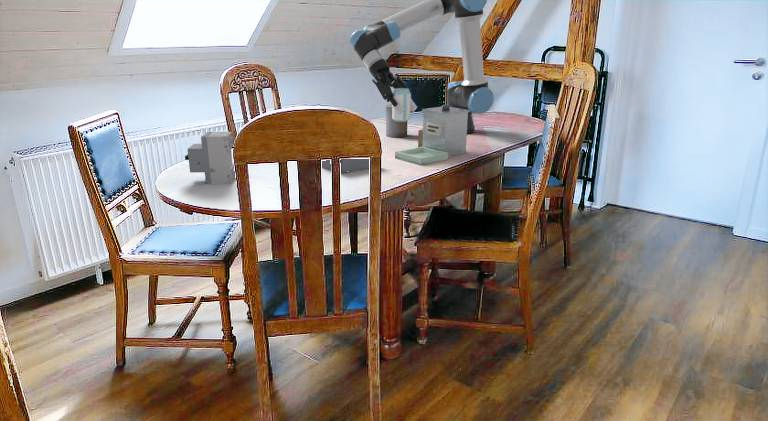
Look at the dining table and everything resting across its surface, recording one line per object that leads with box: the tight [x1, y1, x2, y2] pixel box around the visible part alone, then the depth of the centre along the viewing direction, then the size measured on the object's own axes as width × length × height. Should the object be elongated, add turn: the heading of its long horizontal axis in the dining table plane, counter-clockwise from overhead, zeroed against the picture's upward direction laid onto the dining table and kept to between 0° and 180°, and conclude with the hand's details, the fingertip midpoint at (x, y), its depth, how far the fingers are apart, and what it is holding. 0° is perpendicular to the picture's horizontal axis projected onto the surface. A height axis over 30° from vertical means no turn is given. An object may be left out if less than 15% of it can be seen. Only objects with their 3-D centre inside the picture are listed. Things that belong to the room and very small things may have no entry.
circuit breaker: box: [184, 131, 236, 185], centre depth 171 cm, size 8×14×15 cm, turn 95°
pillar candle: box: [385, 103, 408, 138], centre depth 243 cm, size 10×10×15 cm
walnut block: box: [417, 128, 423, 147], centre depth 221 cm, size 5×5×7 cm
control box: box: [421, 104, 470, 158], centre depth 210 cm, size 13×13×18 cm
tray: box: [394, 146, 449, 166], centre depth 202 cm, size 14×14×2 cm
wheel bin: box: [321, 159, 370, 174], centre depth 191 cm, size 16×14×6 cm
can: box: [392, 88, 412, 122], centre depth 208 cm, size 7×7×12 cm
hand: (408, 110), depth 207 cm, fingers closed on can, 7 cm apart
